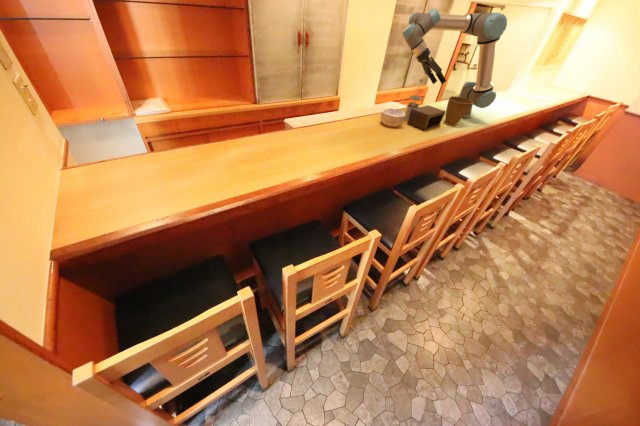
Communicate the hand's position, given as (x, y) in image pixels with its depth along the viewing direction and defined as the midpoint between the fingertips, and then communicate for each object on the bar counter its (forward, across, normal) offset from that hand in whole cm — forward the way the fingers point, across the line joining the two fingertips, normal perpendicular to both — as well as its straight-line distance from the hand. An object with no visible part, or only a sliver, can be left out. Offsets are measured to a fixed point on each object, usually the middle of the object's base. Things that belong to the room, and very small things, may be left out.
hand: (439, 82), depth 149 cm
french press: (+10, -13, -24) cm, 28 cm away
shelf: (+16, -3, -20) cm, 26 cm away
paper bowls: (0, +2, -37) cm, 37 cm away
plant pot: (+31, -12, -4) cm, 34 cm away
